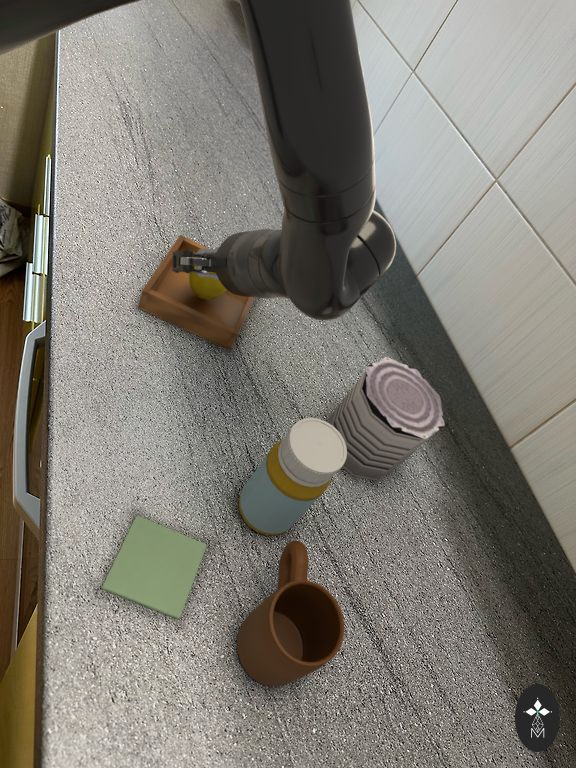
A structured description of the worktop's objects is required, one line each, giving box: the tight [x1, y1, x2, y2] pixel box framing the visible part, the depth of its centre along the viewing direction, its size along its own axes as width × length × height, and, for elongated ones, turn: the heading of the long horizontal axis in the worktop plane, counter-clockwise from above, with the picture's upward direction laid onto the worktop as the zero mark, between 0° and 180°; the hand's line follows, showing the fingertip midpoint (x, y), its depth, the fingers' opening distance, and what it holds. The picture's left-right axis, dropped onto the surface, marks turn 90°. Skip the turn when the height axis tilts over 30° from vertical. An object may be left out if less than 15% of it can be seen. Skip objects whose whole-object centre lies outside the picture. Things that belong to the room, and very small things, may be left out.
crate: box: [137, 234, 256, 352], centre depth 81 cm, size 14×14×4 cm
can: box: [327, 356, 446, 482], centre depth 73 cm, size 11×11×12 cm
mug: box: [236, 540, 345, 688], centre depth 55 cm, size 12×8×9 cm, turn 2°
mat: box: [101, 514, 208, 620], centre depth 58 cm, size 8×8×1 cm
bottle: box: [238, 417, 347, 536], centre depth 61 cm, size 7×7×15 cm
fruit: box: [189, 266, 227, 300], centre depth 79 cm, size 6×6×8 cm
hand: (209, 265), depth 79 cm, fingers open, 7 cm apart
